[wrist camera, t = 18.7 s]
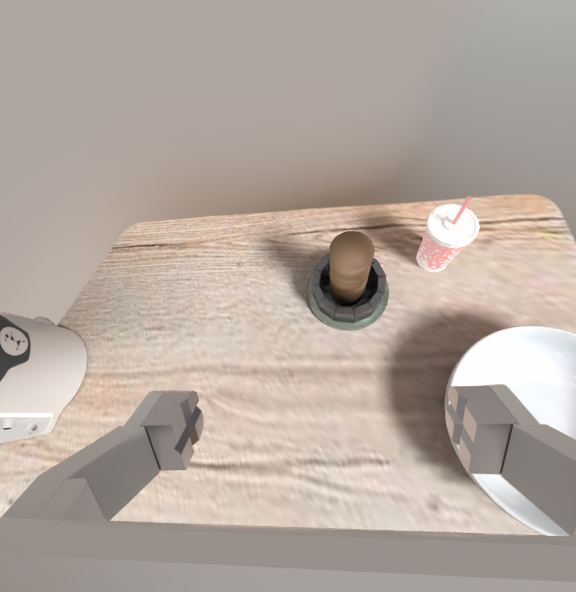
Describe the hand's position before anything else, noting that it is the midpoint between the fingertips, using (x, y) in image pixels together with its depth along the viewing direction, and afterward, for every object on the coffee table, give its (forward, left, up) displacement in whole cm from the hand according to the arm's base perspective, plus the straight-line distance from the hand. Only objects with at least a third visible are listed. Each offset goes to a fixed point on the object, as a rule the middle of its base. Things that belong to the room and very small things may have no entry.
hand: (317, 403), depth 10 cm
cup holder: (+10, +15, -33) cm, 38 cm away
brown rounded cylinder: (+10, +15, -33) cm, 38 cm away
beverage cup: (+24, +15, -34) cm, 44 cm away
